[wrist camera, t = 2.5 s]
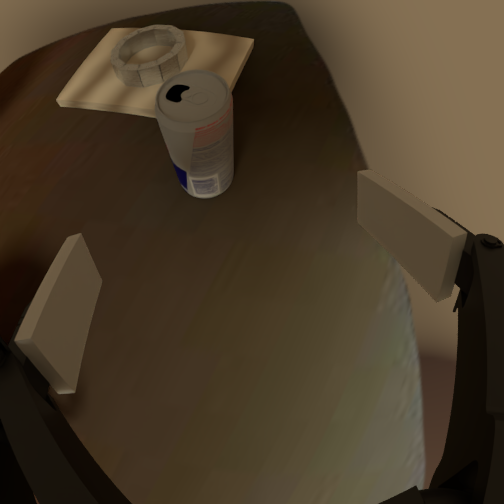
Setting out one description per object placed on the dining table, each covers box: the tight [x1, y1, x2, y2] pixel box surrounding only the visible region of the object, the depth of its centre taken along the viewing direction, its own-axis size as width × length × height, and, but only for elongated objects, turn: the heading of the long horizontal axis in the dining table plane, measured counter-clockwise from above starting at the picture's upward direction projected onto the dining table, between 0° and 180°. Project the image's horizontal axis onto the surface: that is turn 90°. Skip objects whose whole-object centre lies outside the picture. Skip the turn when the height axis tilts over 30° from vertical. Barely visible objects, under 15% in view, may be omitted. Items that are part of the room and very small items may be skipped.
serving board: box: [56, 28, 254, 118], centre depth 32 cm, size 22×15×2 cm
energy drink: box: [155, 69, 234, 198], centre depth 24 cm, size 5×5×12 cm
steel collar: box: [110, 25, 188, 88], centre depth 30 cm, size 9×9×3 cm
